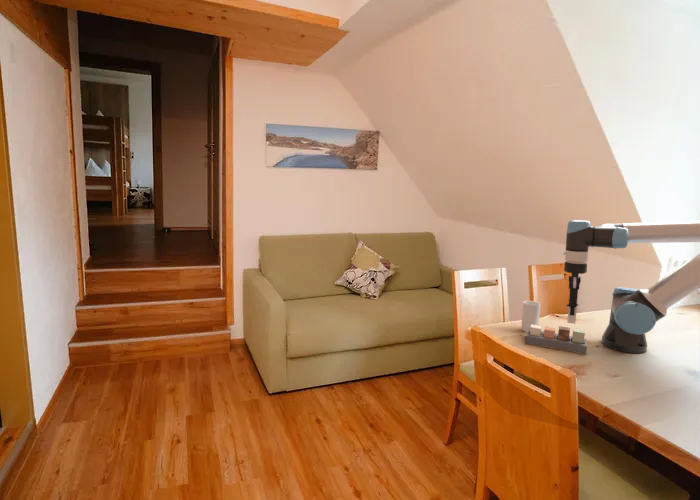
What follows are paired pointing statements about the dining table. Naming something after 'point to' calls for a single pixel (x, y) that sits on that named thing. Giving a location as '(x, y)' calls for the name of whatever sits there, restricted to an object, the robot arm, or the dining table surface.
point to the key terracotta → (549, 332)
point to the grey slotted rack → (556, 343)
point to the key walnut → (563, 333)
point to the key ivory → (535, 330)
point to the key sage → (578, 335)
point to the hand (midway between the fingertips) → (571, 322)
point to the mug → (530, 314)
